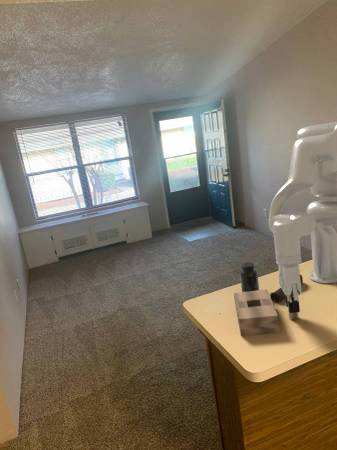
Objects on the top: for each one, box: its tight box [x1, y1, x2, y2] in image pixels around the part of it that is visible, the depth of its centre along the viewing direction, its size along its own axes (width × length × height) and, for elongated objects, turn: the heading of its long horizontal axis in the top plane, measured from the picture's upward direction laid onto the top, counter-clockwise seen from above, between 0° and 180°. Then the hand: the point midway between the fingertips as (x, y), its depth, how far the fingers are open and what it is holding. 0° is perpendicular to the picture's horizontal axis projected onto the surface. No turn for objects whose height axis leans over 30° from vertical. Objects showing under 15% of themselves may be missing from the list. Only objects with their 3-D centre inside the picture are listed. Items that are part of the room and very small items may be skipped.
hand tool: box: [269, 274, 304, 303], centre depth 127 cm, size 19×4×5 cm, turn 126°
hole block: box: [233, 289, 280, 337], centre depth 113 cm, size 12×18×6 cm, turn 174°
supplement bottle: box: [239, 261, 260, 292], centre depth 131 cm, size 7×7×12 cm
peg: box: [287, 295, 299, 321], centre depth 109 cm, size 3×3×10 cm
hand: (293, 308), depth 109 cm, fingers closed on peg, 3 cm apart
